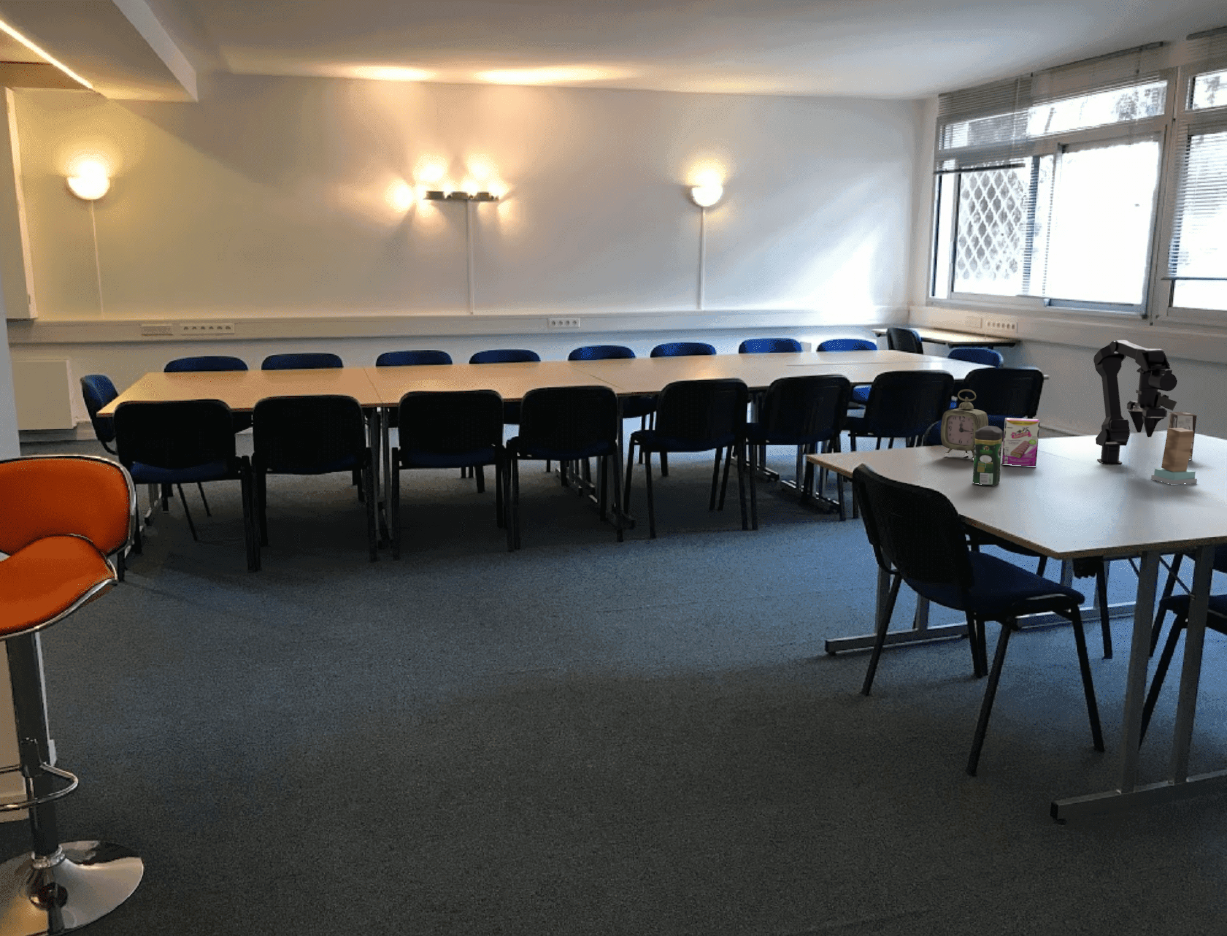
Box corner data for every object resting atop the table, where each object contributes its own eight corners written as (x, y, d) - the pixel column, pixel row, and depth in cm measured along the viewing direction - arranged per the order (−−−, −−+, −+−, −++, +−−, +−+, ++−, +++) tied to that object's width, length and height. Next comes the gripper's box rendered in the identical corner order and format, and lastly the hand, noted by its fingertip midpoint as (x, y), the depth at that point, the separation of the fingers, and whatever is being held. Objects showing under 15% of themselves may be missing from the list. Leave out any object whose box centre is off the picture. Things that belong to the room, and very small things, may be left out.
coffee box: (1192, 460, 342) (1197, 415, 339) (1172, 460, 343) (1177, 415, 340) (1183, 455, 351) (1188, 411, 348) (1163, 455, 352) (1168, 411, 349)
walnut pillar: (1161, 467, 312) (1167, 428, 309) (1174, 467, 313) (1181, 427, 310) (1173, 471, 307) (1180, 431, 304) (1186, 471, 309) (1193, 431, 305)
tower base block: (1150, 481, 315) (1151, 474, 315) (1175, 479, 317) (1176, 473, 316) (1170, 487, 306) (1171, 480, 306) (1196, 485, 308) (1197, 478, 307)
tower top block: (1154, 475, 314) (1154, 468, 313) (1174, 473, 316) (1174, 466, 315) (1174, 480, 306) (1174, 473, 306) (1194, 478, 308) (1195, 471, 308)
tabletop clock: (939, 457, 357) (942, 389, 351) (951, 453, 362) (955, 386, 357) (976, 462, 346) (980, 392, 341) (988, 458, 352) (993, 389, 347)
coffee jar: (976, 479, 319) (979, 423, 315) (1001, 482, 315) (1005, 425, 311) (969, 485, 311) (972, 428, 307) (995, 488, 307) (999, 429, 303)
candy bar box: (1001, 466, 339) (1004, 419, 335) (1001, 463, 343) (1004, 417, 340) (1036, 468, 335) (1040, 420, 332) (1035, 465, 340) (1039, 418, 336)
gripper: (1186, 391, 308) (1181, 440, 311) (1164, 384, 326) (1159, 430, 329) (1148, 391, 309) (1144, 439, 313) (1128, 384, 327) (1124, 430, 331)
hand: (1144, 434), depth 321 cm, fingers open, 9 cm apart
